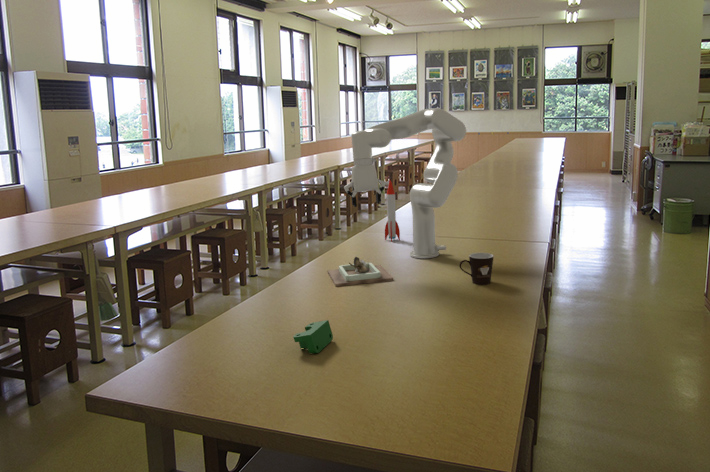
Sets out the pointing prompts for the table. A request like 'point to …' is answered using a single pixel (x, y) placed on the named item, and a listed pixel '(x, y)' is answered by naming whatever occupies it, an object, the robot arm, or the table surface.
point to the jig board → (358, 275)
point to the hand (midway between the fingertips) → (366, 204)
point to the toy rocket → (391, 215)
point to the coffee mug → (480, 267)
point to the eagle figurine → (360, 266)
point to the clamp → (315, 336)
